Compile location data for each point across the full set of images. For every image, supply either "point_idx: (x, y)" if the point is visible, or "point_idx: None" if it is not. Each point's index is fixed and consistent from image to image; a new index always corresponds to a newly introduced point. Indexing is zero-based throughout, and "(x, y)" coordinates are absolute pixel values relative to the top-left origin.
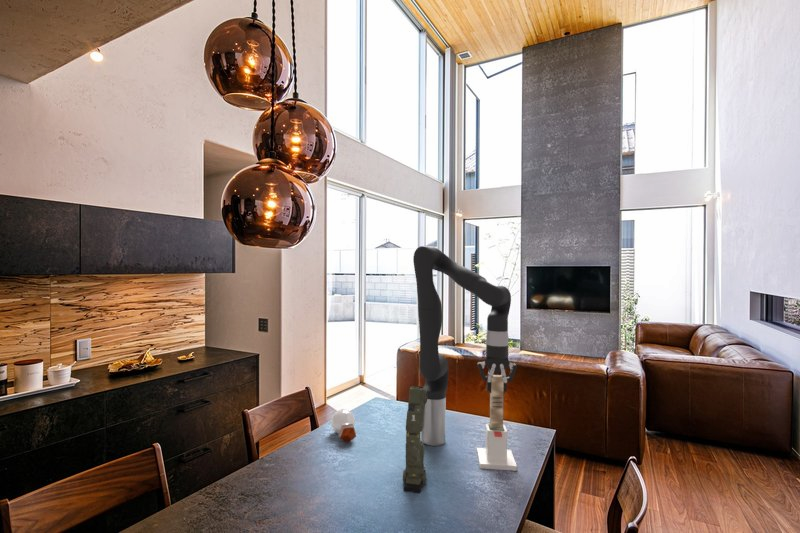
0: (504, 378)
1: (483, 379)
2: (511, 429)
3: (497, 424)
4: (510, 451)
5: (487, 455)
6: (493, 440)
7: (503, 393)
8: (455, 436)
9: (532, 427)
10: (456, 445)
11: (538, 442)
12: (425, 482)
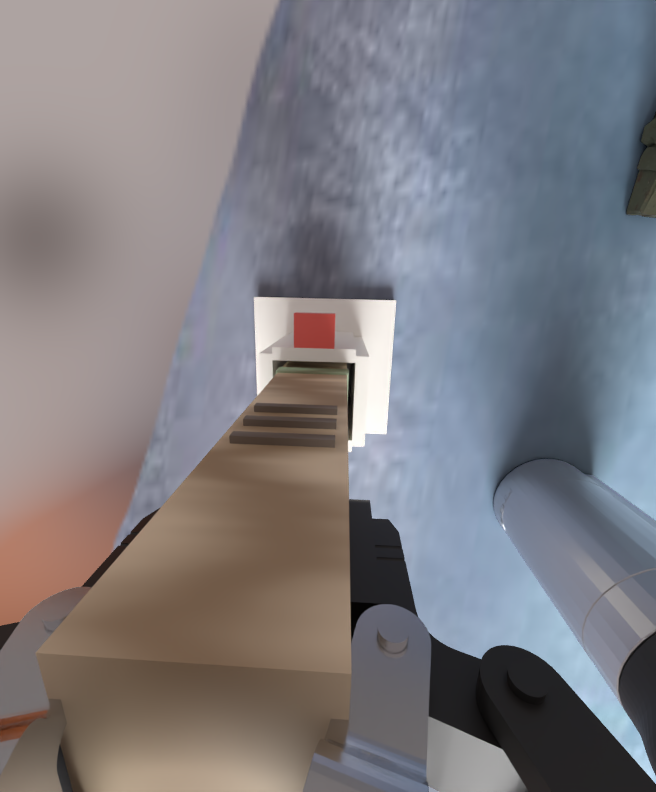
0: (33, 675)
1: (526, 663)
2: None
3: (308, 376)
4: None
5: (361, 338)
6: (337, 342)
7: None
8: (446, 540)
9: None
10: (454, 471)
11: None
12: (647, 129)
